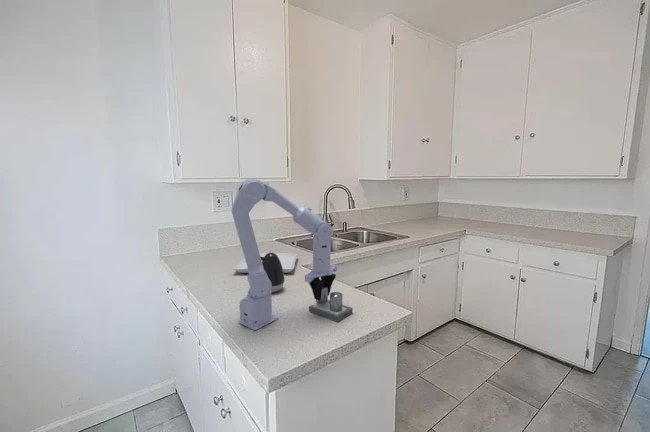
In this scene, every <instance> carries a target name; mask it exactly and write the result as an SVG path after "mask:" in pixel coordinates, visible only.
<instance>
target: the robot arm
mask: <svg viewBox="0 0 650 432" xmlns="http://www.w3.org/2000/svg"><path fill="white" fill-rule="evenodd" d="M262 200H263V201H264V202H273V203H274V204H275V205H277V206H279V207H280V208H282V209H283V210H284V211H286V212H287V213H289V215H290V214H291V215H292V220H293V222H294V223H296V224H297V225H299V226H300V227H302V228H303V229H304V230H306V231H307V232H308V233H310V234H311V235H312V236H313V237H312V269H311V271H309V272H308V273H307V274H305V275H304V282H305V283H308V284H309V286H310V288H311V290H312V295H313V297H314V300H316V299H317V300H320V299H321V291H322V286H323V285H326V286H328V296H330V292H331V289H332V285H333V283H334V280H335V279H336V277H337V275H336V274H335V272H338V266H337V265H335V264H331V250H332V249H331V248H332V247H331V238H332V237H333V235H334V230H333V227H332V225H331V224H330V223H329V222H327V221H324V218H323V217H322V216H320V215H317V214H316V213H315V212H313V211H312V208H310V207H308V206H307V207H306V206H305V205H304V206H298V205H296V204H295V203H294V202H293V201H291V200H290V198H289V199H288V198H287V197H286V196H285V195H284V194H283V193H281V192H279V191H278V190H277V189H275V188H274V187H272V186H270V185H268V184H266V183H264V182H263V181H261V180H260V179H255V178H247V179H246V180H244V181H243V182H242V183H241V184H240V185H239V187H238V188H237V192H236V194H235V197H234V200H233V203H232V206H231V214H232V217H233V222H234V224H235V227H236V232H237V234H238V235H237V236H238V239H239V242H240V246H241V249H242V253H243V256H244V257H245V260H246V264H247V268H248V272H249V273H247V282H248V284H249V288H248V290H247V295H246V296H245V297H243V298H242V299H241V300H239V321H238V323H239V324H241V325H243V326H245V327H247V328H248V329H250V330H253V331H256V330H259V329H261V328H263V327H265V326H267V325H269V324H270V323H273V322H274V321H277V320H278V319H279V317H278V316H276V315H273V307H272V306H273V305H272V302H273V301H272V300H273V299H272V293H271V288H272V284H271V281H270V280H269V278H268V276H267V273H266V271H265V270H264V268H263V265H262V261H261V257H260V254H259V253H260V251H259V247H258V243H257V240H256V236H255V232H254V229H253V225H252V221H251V218H250V212H251V211H252V210H253V208H254V207H255V205H257V204H258V203H259V202H260V201H262ZM244 257H243V258H244Z"/></svg>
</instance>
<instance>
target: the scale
mask: <svg viewBox="0 0 650 432" xmlns="http://www.w3.org/2000/svg"><path fill="white" fill-rule="evenodd" d="M308 312H309V313H312V314H314V315H317V316H320V317H323V318H326V319H328V320H331V321H333V322H336V323H339V322H341V321H343V320H344V319H345V318H347V317H349V316H350V315H352V314H353V307H350V306H349V305H348V306H347V305H345V304H342V311H340V312H333V311H331V310H330V299H328V302H327V303H325V304H318V303H316V302H315V303H313V304H311V305H309V306H308Z"/></svg>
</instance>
